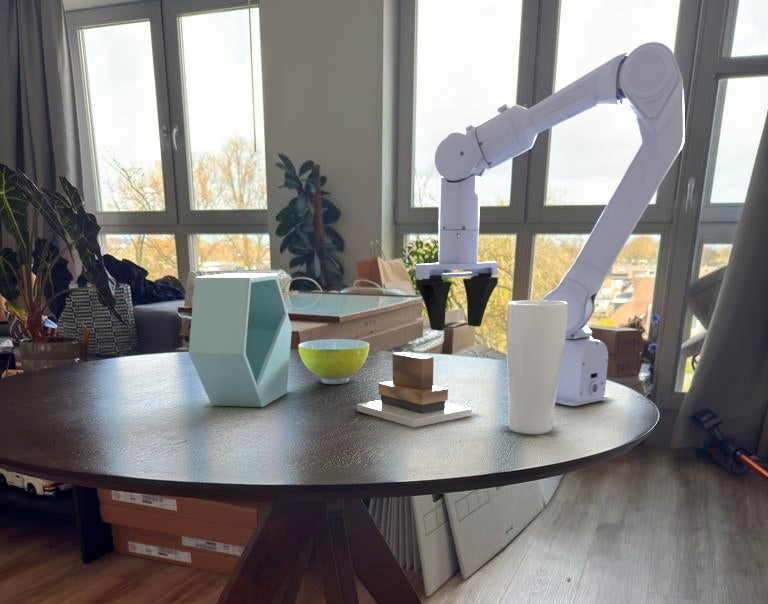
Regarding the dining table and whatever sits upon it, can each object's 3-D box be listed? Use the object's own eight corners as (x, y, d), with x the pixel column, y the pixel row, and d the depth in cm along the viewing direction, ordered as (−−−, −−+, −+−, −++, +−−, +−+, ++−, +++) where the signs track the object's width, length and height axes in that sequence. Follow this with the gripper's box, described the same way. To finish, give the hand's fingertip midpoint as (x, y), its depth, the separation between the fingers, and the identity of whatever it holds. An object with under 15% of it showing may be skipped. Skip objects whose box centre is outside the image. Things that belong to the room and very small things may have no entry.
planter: (272, 434, 105) (231, 320, 89) (222, 431, 107) (173, 318, 90) (299, 355, 115) (267, 239, 98) (253, 353, 116) (214, 239, 100)
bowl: (339, 391, 111) (337, 350, 109) (285, 383, 118) (283, 344, 116) (383, 380, 120) (383, 342, 118) (331, 373, 126) (330, 337, 124)
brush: (447, 409, 94) (448, 357, 92) (421, 414, 92) (422, 361, 90) (404, 398, 101) (404, 349, 99) (378, 402, 99) (378, 353, 96)
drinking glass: (546, 440, 83) (556, 305, 78) (492, 432, 87) (498, 303, 81) (566, 427, 89) (576, 301, 83) (514, 421, 92) (521, 299, 87)
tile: (471, 415, 95) (472, 408, 95) (413, 427, 89) (413, 419, 89) (413, 401, 104) (413, 394, 104) (357, 411, 98) (356, 404, 98)
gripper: (475, 230, 110) (472, 322, 115) (401, 230, 102) (401, 329, 107) (509, 230, 105) (504, 325, 110) (435, 230, 97) (433, 333, 101)
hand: (456, 328), depth 108 cm, fingers open, 7 cm apart
